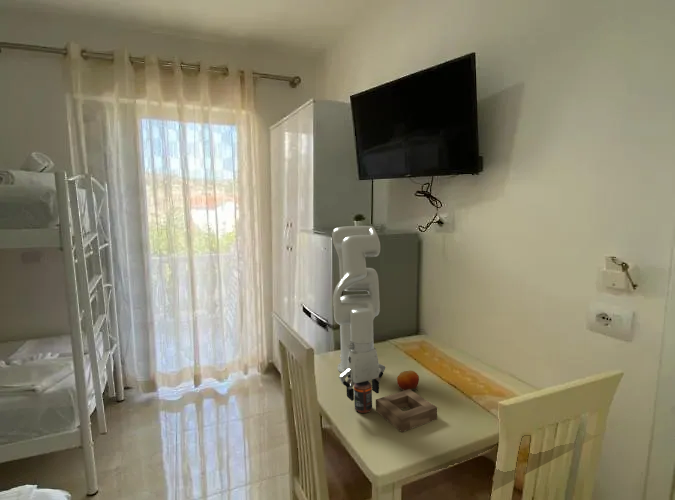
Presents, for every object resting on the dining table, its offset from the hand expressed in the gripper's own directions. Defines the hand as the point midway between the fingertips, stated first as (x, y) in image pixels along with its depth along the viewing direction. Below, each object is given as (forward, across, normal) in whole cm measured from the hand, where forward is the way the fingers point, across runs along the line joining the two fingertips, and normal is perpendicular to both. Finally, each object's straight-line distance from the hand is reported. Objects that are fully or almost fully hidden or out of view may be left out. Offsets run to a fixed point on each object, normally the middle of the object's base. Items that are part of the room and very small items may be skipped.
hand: (363, 395), depth 126 cm
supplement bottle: (+5, 0, 0) cm, 5 cm away
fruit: (+5, +22, +4) cm, 23 cm away
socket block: (+5, +10, -10) cm, 15 cm away
